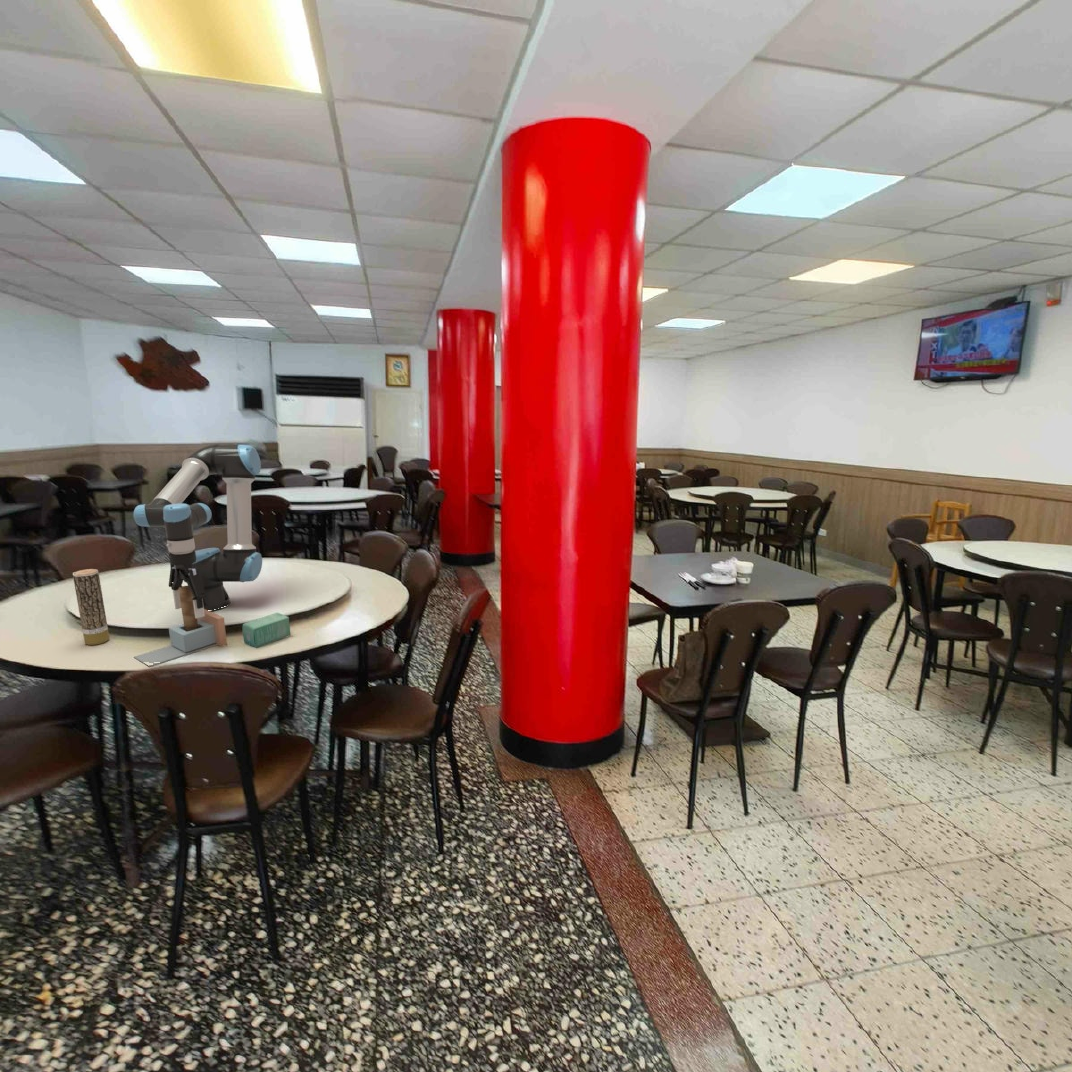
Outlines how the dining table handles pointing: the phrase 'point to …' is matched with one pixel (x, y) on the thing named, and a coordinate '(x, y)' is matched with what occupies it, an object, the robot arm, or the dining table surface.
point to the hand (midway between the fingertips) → (189, 612)
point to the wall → (216, 626)
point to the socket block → (192, 636)
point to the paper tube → (91, 606)
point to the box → (266, 630)
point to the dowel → (187, 608)
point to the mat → (166, 654)
